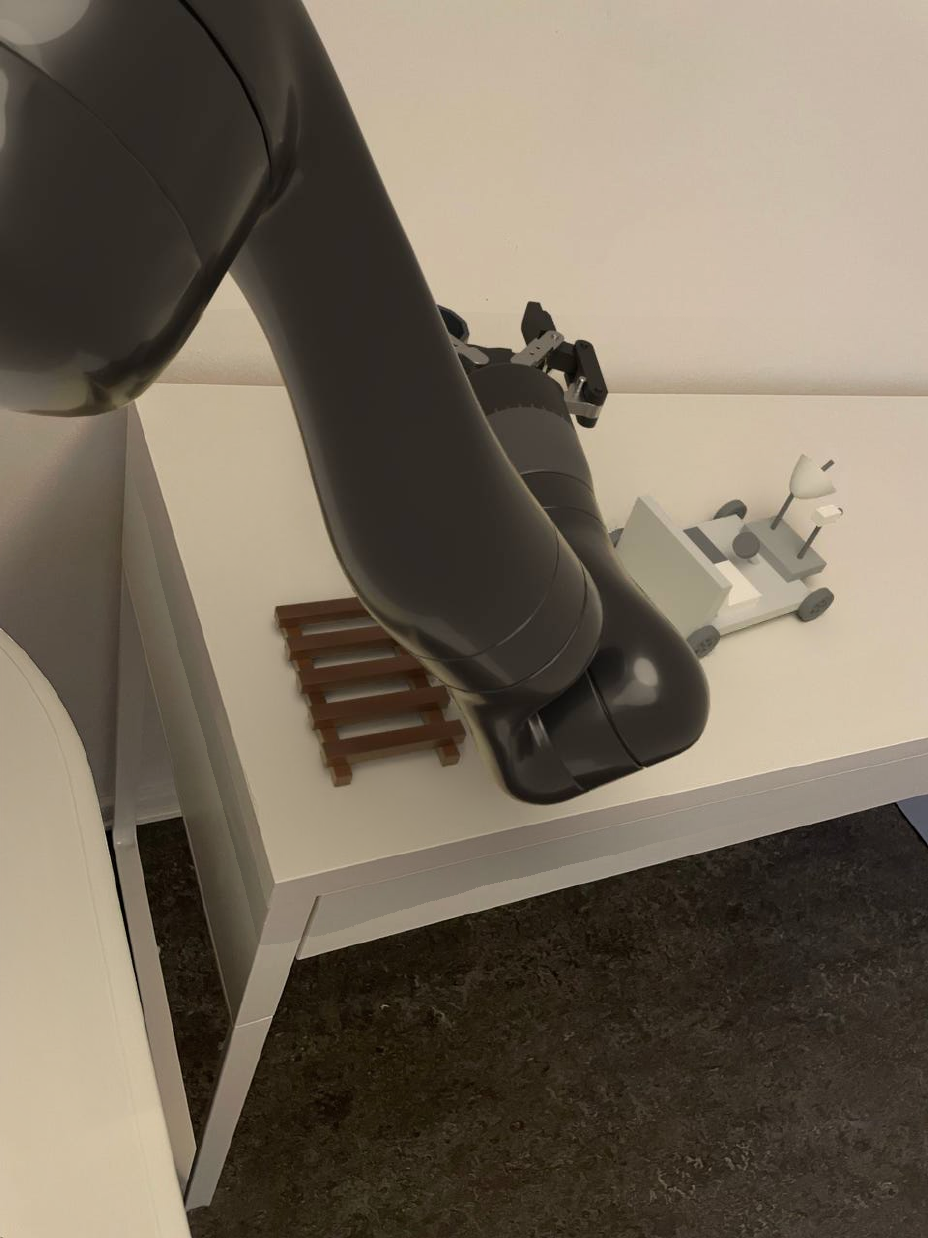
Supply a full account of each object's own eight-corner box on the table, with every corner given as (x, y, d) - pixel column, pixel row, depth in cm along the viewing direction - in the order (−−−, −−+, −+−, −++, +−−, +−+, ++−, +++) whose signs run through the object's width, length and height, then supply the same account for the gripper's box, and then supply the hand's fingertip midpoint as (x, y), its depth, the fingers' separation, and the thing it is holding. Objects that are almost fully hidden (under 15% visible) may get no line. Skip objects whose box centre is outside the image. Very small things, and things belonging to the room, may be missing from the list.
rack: (269, 617, 69) (271, 596, 68) (394, 602, 73) (399, 582, 72) (326, 789, 61) (330, 770, 60) (464, 762, 65) (471, 744, 63)
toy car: (804, 425, 83) (908, 519, 77) (753, 516, 90) (845, 609, 84) (634, 461, 74) (736, 570, 68) (592, 559, 81) (681, 666, 75)
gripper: (658, 422, 56) (586, 266, 66) (400, 397, 52) (368, 236, 62) (612, 524, 61) (552, 365, 72) (375, 509, 57) (349, 343, 68)
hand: (466, 305), depth 67 cm, fingers open, 8 cm apart
